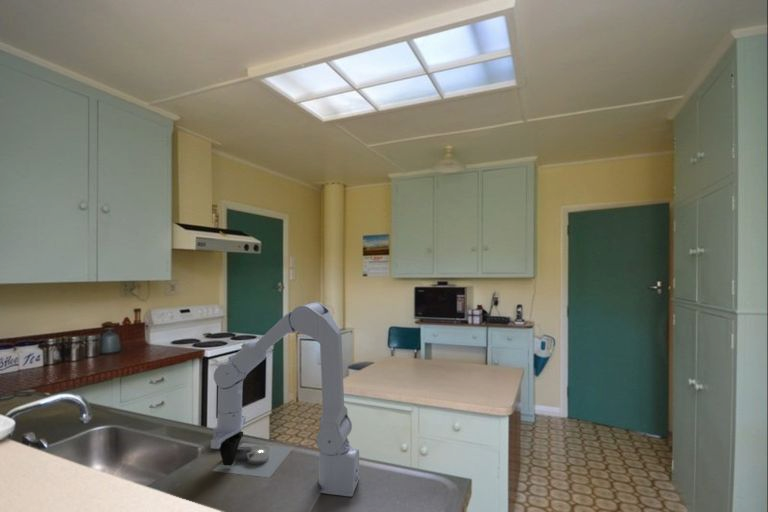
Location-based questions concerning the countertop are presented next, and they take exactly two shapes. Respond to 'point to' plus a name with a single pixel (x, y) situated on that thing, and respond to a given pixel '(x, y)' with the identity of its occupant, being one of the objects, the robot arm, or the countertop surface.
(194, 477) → the countertop surface
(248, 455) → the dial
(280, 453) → the board
